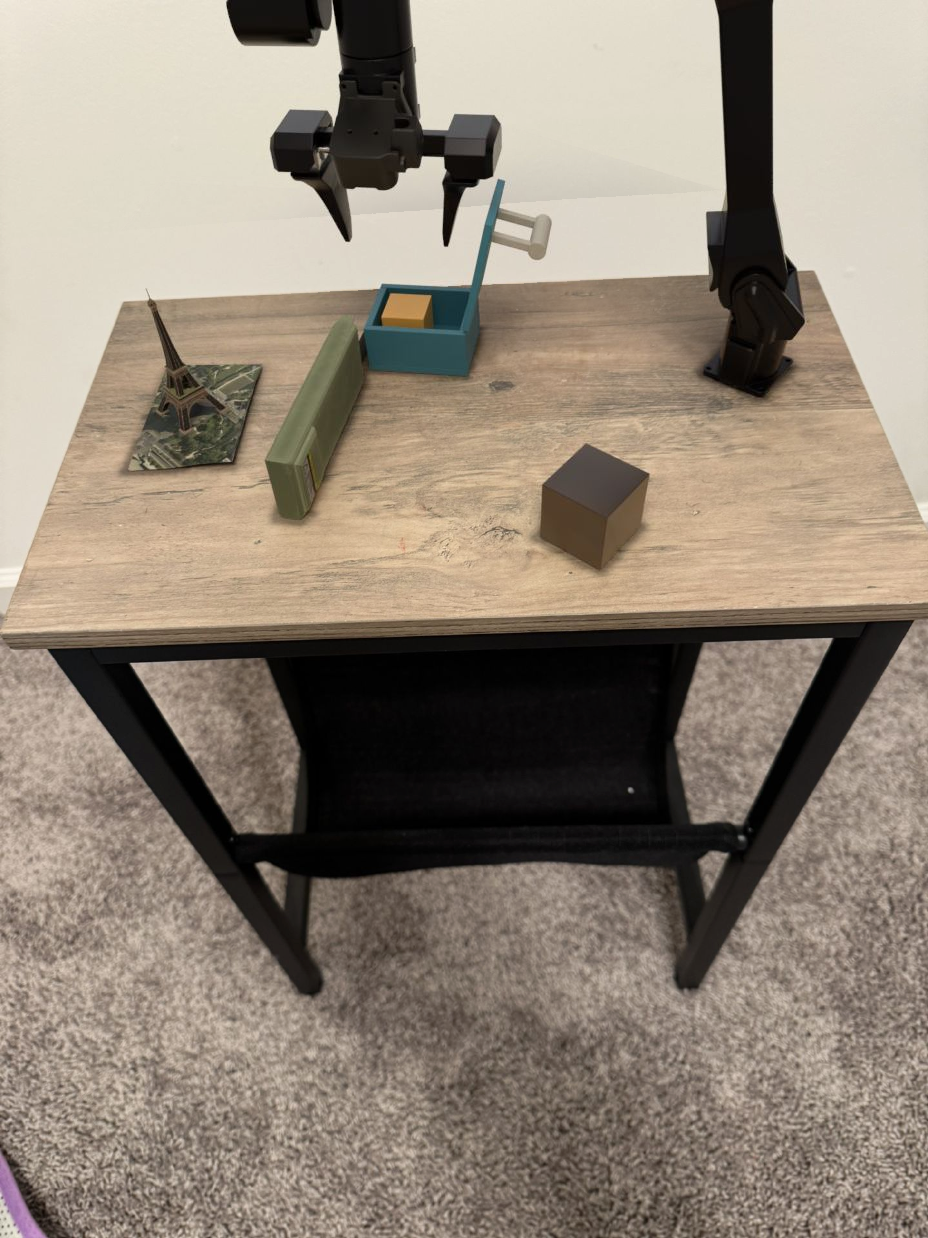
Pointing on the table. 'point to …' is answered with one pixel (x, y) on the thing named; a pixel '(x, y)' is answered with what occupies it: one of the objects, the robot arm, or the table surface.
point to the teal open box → (423, 334)
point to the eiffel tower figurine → (193, 411)
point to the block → (408, 311)
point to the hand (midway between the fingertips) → (397, 242)
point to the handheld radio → (316, 420)
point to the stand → (593, 505)
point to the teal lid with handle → (505, 243)
